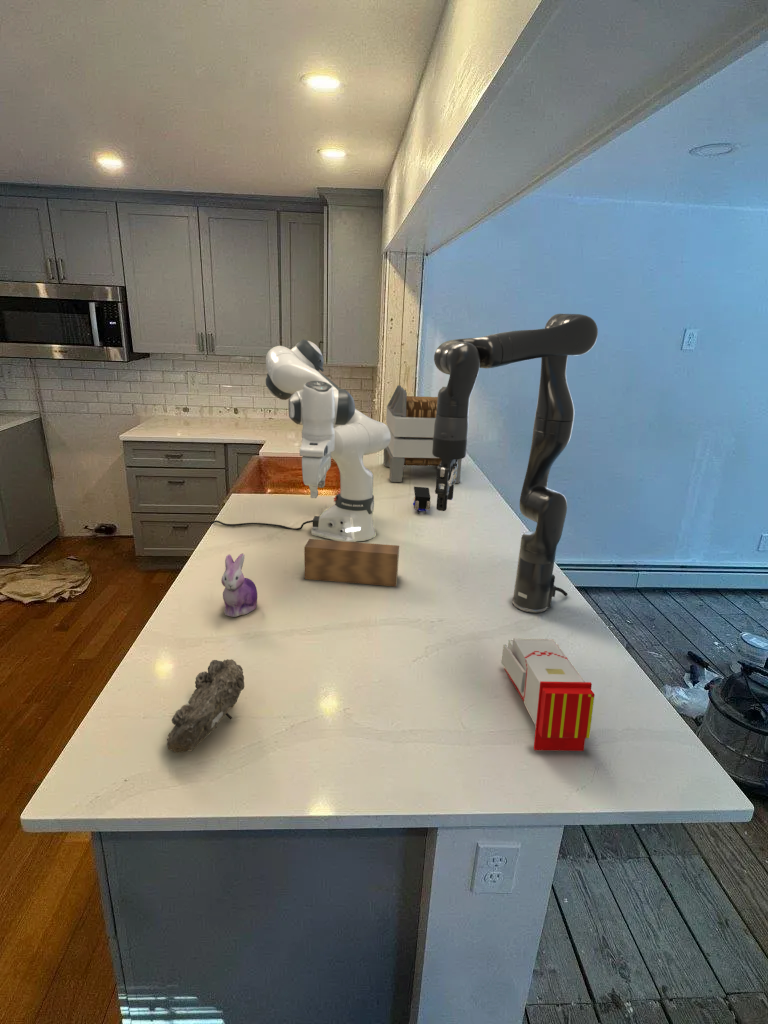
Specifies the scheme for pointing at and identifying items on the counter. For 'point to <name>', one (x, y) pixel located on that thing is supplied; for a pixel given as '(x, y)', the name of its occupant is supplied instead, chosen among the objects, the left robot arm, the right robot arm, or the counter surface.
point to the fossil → (206, 705)
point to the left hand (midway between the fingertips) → (317, 492)
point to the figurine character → (421, 499)
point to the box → (351, 562)
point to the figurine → (237, 589)
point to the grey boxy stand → (411, 433)
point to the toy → (550, 693)
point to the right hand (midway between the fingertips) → (444, 504)
